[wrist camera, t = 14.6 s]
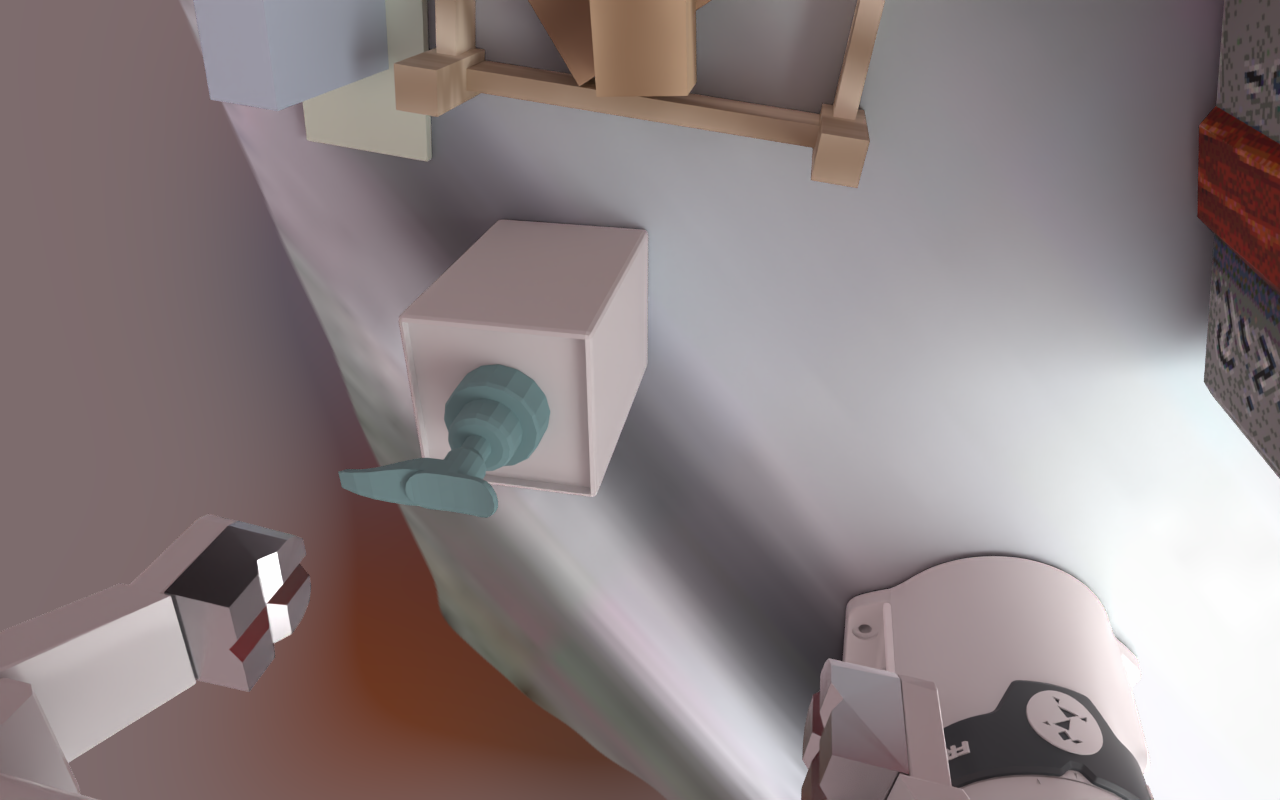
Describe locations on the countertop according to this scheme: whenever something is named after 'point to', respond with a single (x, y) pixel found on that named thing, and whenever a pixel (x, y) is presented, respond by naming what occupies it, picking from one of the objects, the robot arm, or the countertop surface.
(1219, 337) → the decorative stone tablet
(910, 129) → the countertop surface
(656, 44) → the offcut upper
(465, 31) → the rack
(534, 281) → the soap bottle
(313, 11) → the lavender grey box
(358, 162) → the countertop surface
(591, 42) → the offcut lower
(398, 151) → the mat
